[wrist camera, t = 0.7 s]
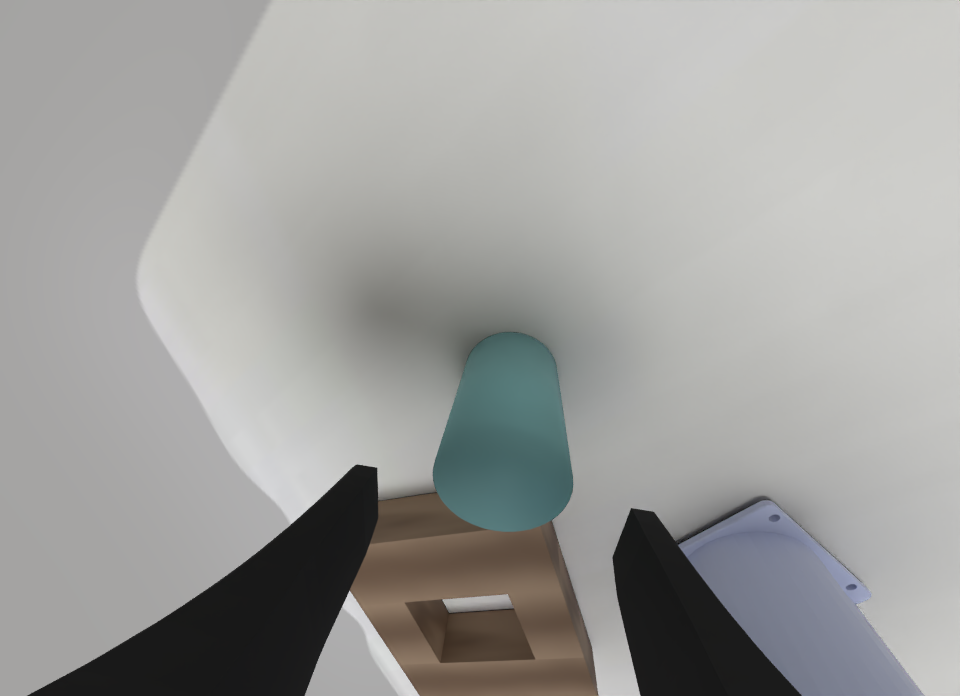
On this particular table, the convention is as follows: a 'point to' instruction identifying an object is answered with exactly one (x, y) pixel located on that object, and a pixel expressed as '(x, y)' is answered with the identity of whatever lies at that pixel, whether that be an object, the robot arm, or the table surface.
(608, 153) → the table surface
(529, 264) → the table surface
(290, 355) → the table surface
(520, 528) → the teal peg
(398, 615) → the socket block
